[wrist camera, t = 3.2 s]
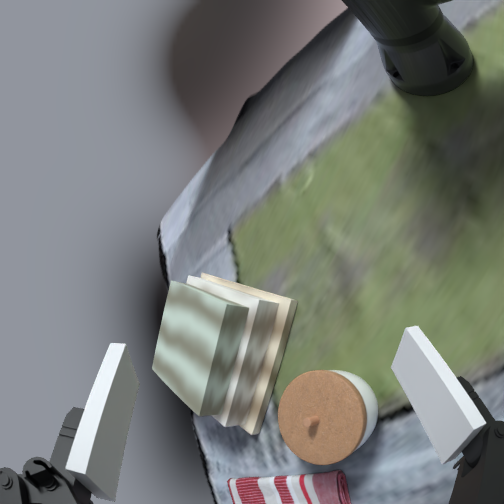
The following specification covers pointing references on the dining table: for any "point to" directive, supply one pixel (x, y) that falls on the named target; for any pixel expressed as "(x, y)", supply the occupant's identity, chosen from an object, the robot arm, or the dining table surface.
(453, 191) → the dining table surface
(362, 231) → the dining table surface
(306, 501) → the dish towel
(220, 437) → the dining table surface
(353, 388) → the lidded jar
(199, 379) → the brick tower
